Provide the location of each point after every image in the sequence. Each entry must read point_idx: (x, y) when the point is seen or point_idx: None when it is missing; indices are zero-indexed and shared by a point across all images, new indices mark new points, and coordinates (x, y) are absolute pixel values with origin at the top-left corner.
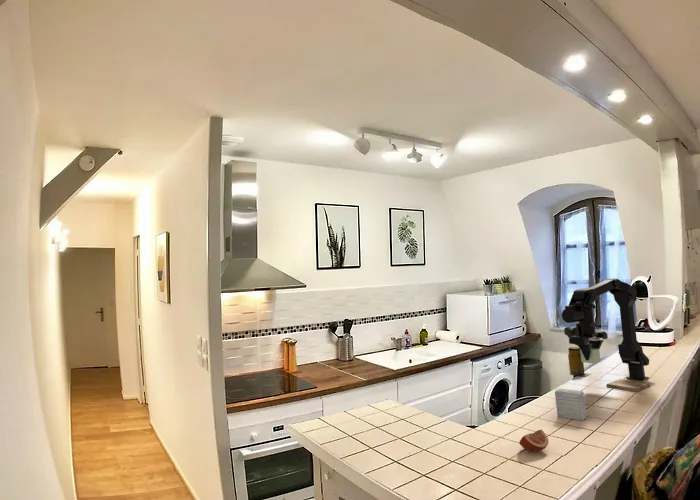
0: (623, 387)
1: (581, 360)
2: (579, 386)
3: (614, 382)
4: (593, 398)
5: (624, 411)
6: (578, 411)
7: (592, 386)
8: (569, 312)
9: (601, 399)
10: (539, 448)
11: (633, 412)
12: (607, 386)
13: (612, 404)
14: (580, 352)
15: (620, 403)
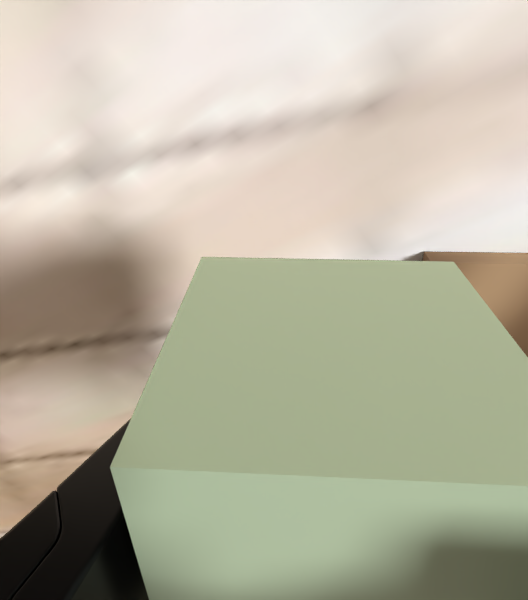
0: None
1: (194, 274)
2: (317, 48)
3: (520, 286)
4: (64, 320)
5: (5, 484)
6: None
7: (386, 151)
8: None
9: (85, 358)
10: None
11: (25, 505)
12: (424, 260)
13: (51, 425)
14: (145, 389)
15: (99, 441)
